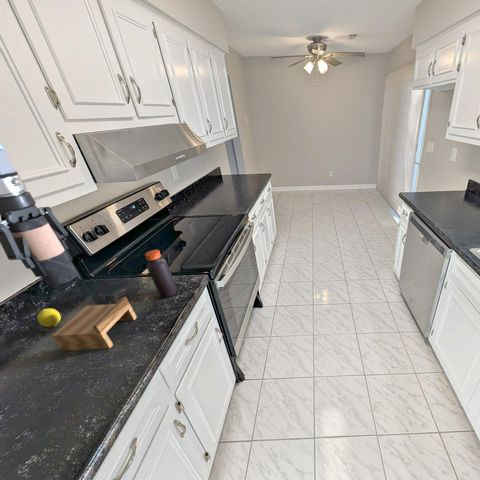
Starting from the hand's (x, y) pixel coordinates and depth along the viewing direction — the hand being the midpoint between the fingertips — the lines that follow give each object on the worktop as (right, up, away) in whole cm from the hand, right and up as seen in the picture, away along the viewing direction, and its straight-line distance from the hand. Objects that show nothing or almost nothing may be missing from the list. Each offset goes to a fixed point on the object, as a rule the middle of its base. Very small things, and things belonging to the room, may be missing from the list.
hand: (55, 267), depth 76 cm
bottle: (+15, -15, +33) cm, 39 cm away
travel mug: (0, -4, +2) cm, 4 cm away
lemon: (-20, -24, +19) cm, 37 cm away
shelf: (+2, -25, +14) cm, 29 cm away
